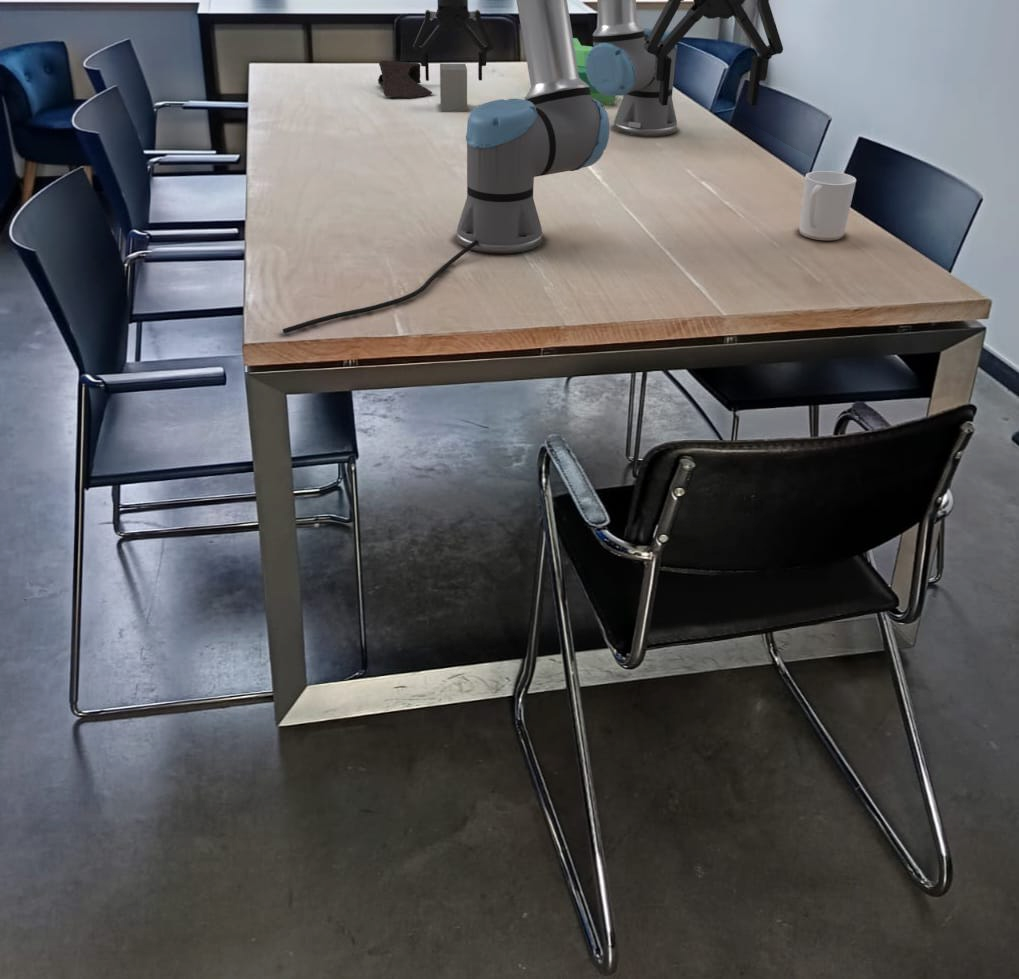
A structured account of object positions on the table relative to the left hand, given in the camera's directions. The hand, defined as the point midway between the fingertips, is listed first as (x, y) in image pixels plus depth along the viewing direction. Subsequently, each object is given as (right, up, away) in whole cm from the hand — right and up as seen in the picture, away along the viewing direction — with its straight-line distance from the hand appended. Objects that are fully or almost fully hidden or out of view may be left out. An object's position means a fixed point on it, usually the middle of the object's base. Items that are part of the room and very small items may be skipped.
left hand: (707, 103), depth 164 cm
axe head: (-59, +52, +136) cm, 157 cm away
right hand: (-44, +47, +117) cm, 133 cm away
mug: (+27, -11, +38) cm, 48 cm away
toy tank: (-11, +52, +139) cm, 149 cm away
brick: (-44, +41, +120) cm, 135 cm away
